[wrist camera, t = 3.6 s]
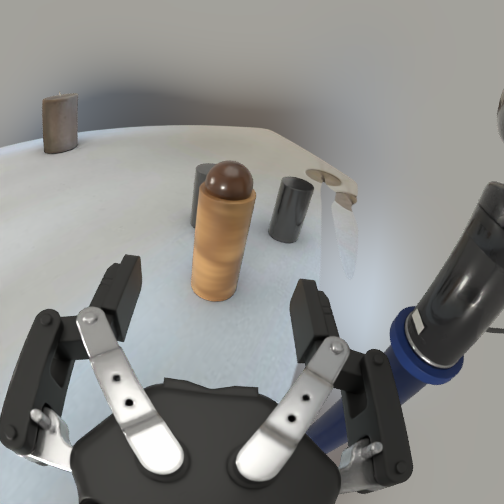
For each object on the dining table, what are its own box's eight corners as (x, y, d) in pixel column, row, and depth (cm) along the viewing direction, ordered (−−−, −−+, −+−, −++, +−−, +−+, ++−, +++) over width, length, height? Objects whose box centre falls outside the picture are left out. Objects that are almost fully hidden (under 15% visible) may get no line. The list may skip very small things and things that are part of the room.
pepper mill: (236, 272, 32) (260, 157, 24) (235, 304, 28) (264, 178, 20) (194, 267, 32) (206, 149, 24) (188, 298, 28) (199, 168, 20)
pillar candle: (39, 156, 51) (37, 96, 42) (48, 144, 57) (48, 91, 48) (75, 151, 55) (75, 90, 46) (80, 140, 61) (81, 87, 53)
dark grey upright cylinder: (295, 228, 43) (310, 180, 38) (300, 245, 39) (317, 193, 35) (267, 223, 42) (279, 174, 37) (269, 240, 39) (283, 187, 34)
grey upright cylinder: (222, 217, 41) (231, 166, 37) (220, 233, 38) (229, 178, 33) (192, 213, 41) (198, 161, 36) (188, 229, 37) (193, 173, 32)
